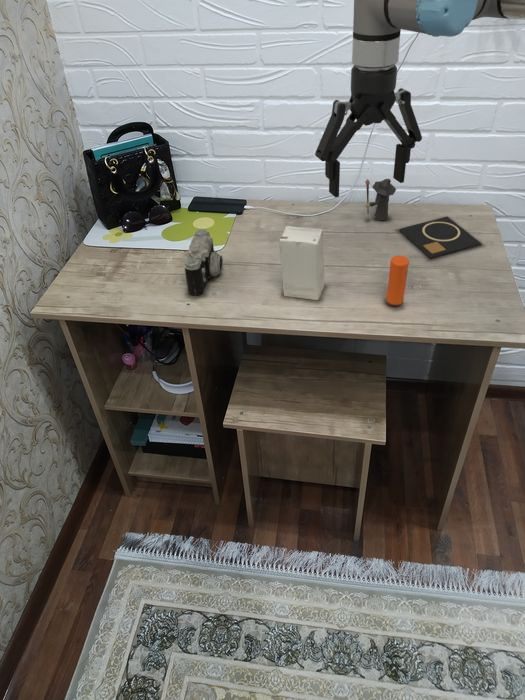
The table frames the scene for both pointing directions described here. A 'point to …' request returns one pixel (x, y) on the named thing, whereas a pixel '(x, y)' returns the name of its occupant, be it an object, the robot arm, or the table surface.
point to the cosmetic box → (302, 262)
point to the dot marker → (397, 280)
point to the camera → (201, 263)
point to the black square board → (439, 237)
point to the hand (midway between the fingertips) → (366, 187)
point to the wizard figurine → (380, 197)
